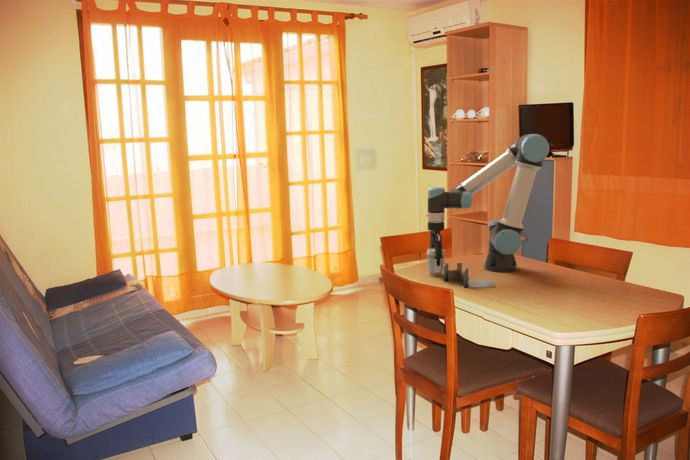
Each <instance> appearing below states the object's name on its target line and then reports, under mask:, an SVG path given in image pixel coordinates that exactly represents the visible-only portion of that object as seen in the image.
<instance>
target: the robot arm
mask: <svg viewBox="0 0 690 460" xmlns="http://www.w3.org/2000/svg"><path fill="white" fill-rule="evenodd" d="M549 153H550V144H549V141H548V140H547V138H545V137H544V136H543V135H541V134H539V133H527V134H524V135H521V136H520V137H519V138H517V140H516V141H514V142H513V143H512V144H510V146H507V148H506V149H505V152H504V153H501V154H500V155H499V156H497V157H496V158H495V159H494V160H492V161H491V162H489V163H488V164H487V165H486V166H484V167H482V168H481V169H479V170H478V171H477V172H475V173H474V174H473V175H471V176H470V177H468V178H467V179H465V180H464V181H462V182H461V183H460V184H459V185H457V186H456V187H453V188H451V189H450V190H449V191H446V189H445V188H444V187H441V186H435V187H434V186H432V187H429V188H428V190H427V213H426V217H427V221H428V222H427V230H428V231H429V234H430V235H429V236H430V237H429V248H435V257H434V259H435V273H438V272H441V258H442V249H443V242H442V240H443V236H442V234H441V231H444V230H445V218H446V217H445V216H446V215H445V214H446V213H445V210H446V209H462V210H464V209H470V208H472V205H473V204H472V203H473V196H474V195H475V194H476V193H477V192H479V191H480V190H482V189H484V187H486V186H487V185H489V184H491V183H492V182H493V181H495V180H496V179H498V178H500V176H502V175H503V174H505V173H506V172H508V171H509V170H510V169H512V168H513V167H515V166H516V169H515V172H514V173H515V174H514V177H513V180H512V182H511V183H512V184H511V187H510V191H509V194H508V197H507V200H506V204H505V207H504V211H503V214H502V217H501V218H500V219H498V220H492V221H491V220H490V221H489V223H488V247H487V248H488V251H487V255H486V257H485V261H484V265H483V268H484V269H485V270H487V271H491V272H496V273H497V272H498V273H506V272H507V273H509V272H515V271H517V270H518V264H517V260H516V256H515V253H516V252H518V251H519V249H520V248H521V246H522V235H523V231H524V225H523V223H522V222H523V219H524V216H525V212H526V209H527V205H528V201H529V198H530V194H531V192H532V188H533V186H534V182H535V179H536V175H537V172H538V171H539V170H540V169H542V168H543V165H544V164H543V163H544V161H545V159H546V158H547V157H548V155H549Z"/></svg>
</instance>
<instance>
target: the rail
mask: <svg viewBox="0 0 690 460" xmlns="http://www.w3.org/2000/svg"><path fill="white" fill-rule="evenodd" d="M456 265H457V266H456V269H449V263H446V262H445V263H443V282H444V283H448V281H453V282H458V281H459V282H460V283H461V284H462V285H463V286H462V285H461V286H462V287H464V289H468V288H469V287H468V280H469V268H463V263H462V262H457V264H456ZM460 283H459V284H460Z"/></svg>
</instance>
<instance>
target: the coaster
mask: <svg viewBox="0 0 690 460" xmlns="http://www.w3.org/2000/svg"><path fill="white" fill-rule="evenodd" d="M468 286H469V287H470V288H469V287H468V288H469V289H486V288H487V289H488V288H497V286H496V285H495V284H494V283H493V282H492V281H490V279H468Z"/></svg>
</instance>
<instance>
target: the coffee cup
mask: <svg viewBox="0 0 690 460" xmlns="http://www.w3.org/2000/svg"><path fill="white" fill-rule="evenodd" d="M445 251H446V250H445V249H444V248H442V258H441V272H438V273H435V259H434V257H435V248H430V247H428V249H427V251H426V256H427V265H428V266H427V267H428V274H429V276H430V277H441V276H443V272H444V262H445V255H446V252H445Z"/></svg>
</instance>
